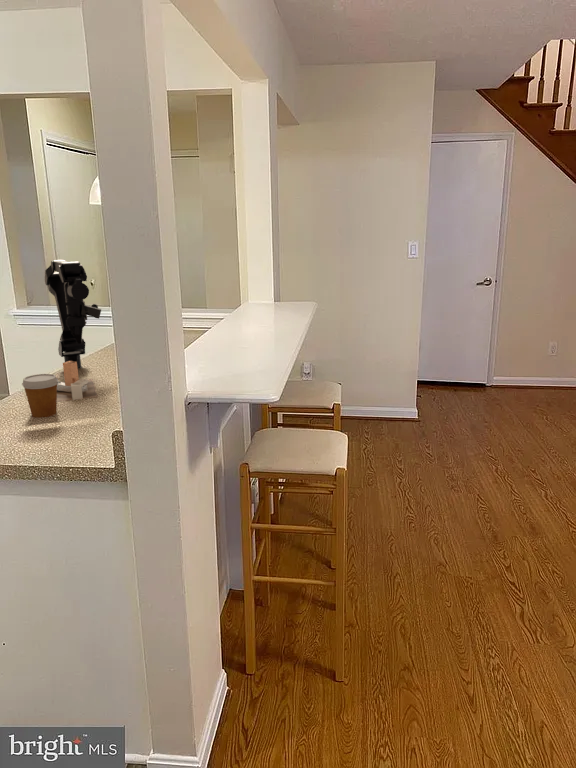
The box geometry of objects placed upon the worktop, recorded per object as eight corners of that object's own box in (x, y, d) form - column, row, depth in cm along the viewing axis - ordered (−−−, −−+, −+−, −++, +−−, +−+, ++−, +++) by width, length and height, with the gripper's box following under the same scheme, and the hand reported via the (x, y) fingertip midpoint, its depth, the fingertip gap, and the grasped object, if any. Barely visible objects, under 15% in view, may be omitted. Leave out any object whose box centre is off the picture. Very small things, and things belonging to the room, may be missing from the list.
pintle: (44, 388, 191) (43, 377, 190) (64, 386, 193) (62, 376, 192) (44, 393, 185) (43, 382, 184) (64, 391, 188) (63, 380, 187)
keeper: (71, 393, 186) (70, 379, 185) (89, 391, 188) (87, 377, 186) (72, 399, 179) (71, 385, 177) (90, 397, 181) (89, 384, 179)
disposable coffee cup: (54, 423, 161) (49, 382, 158) (20, 423, 162) (15, 382, 158) (67, 412, 171) (63, 373, 167) (35, 412, 171) (30, 373, 168)
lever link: (53, 386, 192) (50, 358, 189) (88, 390, 187) (85, 361, 185) (44, 389, 188) (40, 361, 185) (79, 393, 183) (76, 364, 181)
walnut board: (46, 386, 198) (46, 383, 197) (92, 382, 203) (92, 378, 203) (46, 406, 176) (46, 402, 176) (98, 400, 182) (97, 397, 181)
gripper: (98, 298, 194) (103, 344, 197) (98, 295, 211) (103, 337, 215) (62, 301, 191) (68, 347, 194) (66, 297, 208) (72, 340, 211)
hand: (79, 343), depth 204 cm, fingers closed
